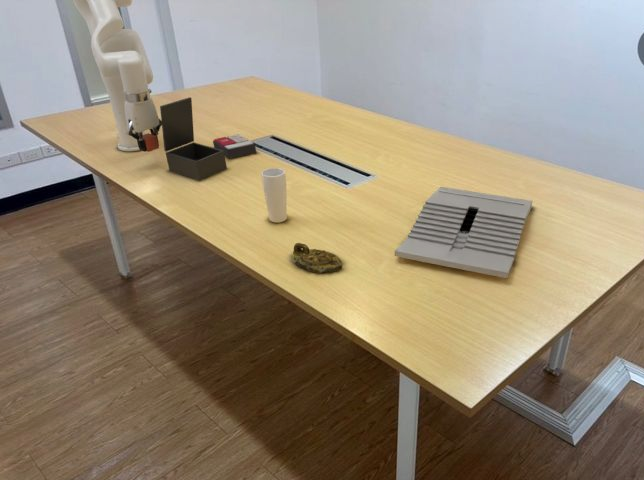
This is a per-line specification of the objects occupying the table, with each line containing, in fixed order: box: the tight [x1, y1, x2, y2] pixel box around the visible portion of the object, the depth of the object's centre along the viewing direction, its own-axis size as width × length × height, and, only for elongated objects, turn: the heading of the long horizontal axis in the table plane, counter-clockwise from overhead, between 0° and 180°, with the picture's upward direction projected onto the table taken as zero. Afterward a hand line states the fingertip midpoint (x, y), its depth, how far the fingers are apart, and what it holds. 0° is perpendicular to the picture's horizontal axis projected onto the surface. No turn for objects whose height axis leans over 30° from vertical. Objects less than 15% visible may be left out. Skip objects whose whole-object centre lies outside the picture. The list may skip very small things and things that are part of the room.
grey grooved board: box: [394, 186, 533, 279], centre depth 157 cm, size 44×29×4 cm, turn 162°
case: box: [165, 141, 228, 182], centre depth 195 cm, size 16×13×7 cm
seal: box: [292, 242, 343, 274], centre depth 144 cm, size 9×5×15 cm
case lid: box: [159, 96, 195, 153], centre depth 191 cm, size 16×13×1 cm
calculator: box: [212, 133, 257, 160], centre depth 211 cm, size 11×4×15 cm
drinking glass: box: [260, 167, 288, 224], centre depth 161 cm, size 7×7×15 cm
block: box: [143, 132, 160, 153], centre depth 194 cm, size 4×4×4 cm
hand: (149, 147), depth 195 cm, fingers closed on block, 4 cm apart
